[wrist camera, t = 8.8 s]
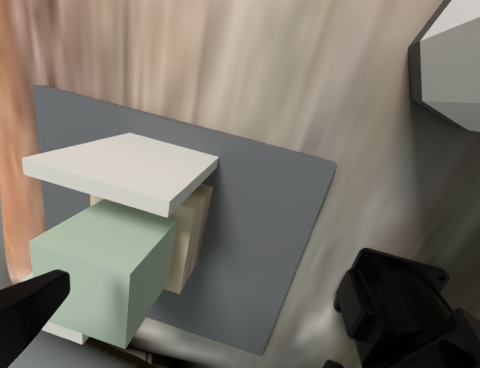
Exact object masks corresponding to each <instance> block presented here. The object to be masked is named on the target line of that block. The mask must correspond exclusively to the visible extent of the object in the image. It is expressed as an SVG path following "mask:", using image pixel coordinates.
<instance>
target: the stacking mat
mask: <svg viewBox="0 0 480 368" xmlns="http://www.w3.org/2000/svg"><path fill="white" fill-rule="evenodd" d="M33 88H34V99H35V110H36V121H37V132H38V144H39V154H37V155H32V156H28V157H24V158H22V162H23V170H24V175H27V176H31V177H34V178H37V179H41V180H42V188H43V199H44V210H45V221H46V231H48V230H50V229H51V228H53V227H55V226H57V225H59V224H60V223H62V222H64V221H66V220H67V219H69V218H71V217H73V216H74V215H76V214H78V213H80V212H82V211H83V210H85V209H87V208H89V207H90V195H94V196H97V197H100V198H104V199H107V200H110V201H114V202H117V203H120V204H124V205H127V206H130V207H134V208H137V209H140V210H144V211H147V212H150V213H153V214H157V215H160V216H163V217H167V218H168V217H169V216H170V215H171V214H172V213H173V212H174V211H175V210H176V209H177V208H178V207H179V206H180V205H181V204H182V203H183V202H184V201H185V199H186V198H187V197H188V196H189V195H190V194H191V193H192V192H193V191H194V190H195V189H196V188H197V187H198V186H199V185H200V184H201V183H202V184H205V185H209V186H212V187H213V190H212V195H211V200H210V205H209V210H208V215H207V220H206V225H205V230H204V235H203V240H202V245H201V250H200V255H199V259H198V261H197V263H196V265H195V267H194V269H193V271H192V272H191V274H190V276H189V278H188V280H187V282H186V284H185V286H184V287H183V289H182V291H181V293H180V294H178V293H175V292H172V291H169V290H166V289H163V290H162V292H161V294H160V295H159V297H158V298H157V300H156V301H155V303H154V305H153V306H152V308H151V309H150V311H149V312H148V314H147V316H146V317H148V318H151V319H154V320H157V321H160V322H163V323H166V324H169V325H172V326H175V327H178V328H181V329H183V330H186V331H189V332H192V333H195V334H198V335H201V336H204V337H207V338H210V339H213V340H216V341H219V342H221V343H224V344H227V345H230V346H233V347H236V348H239V349H242V350H245V351H248V352H251V353H254V354H257V355H259V356H262V354H263V351H264V349H265V346H266V344H267V341H268V339H269V336H270V334H271V331H272V329H273V326H274V323H275V321H276V318H277V316H278V313H279V311H280V308H281V306H282V303H283V301H284V298H285V296H286V293H287V291H288V288H289V286H290V283H291V281H292V278H293V275H294V273H295V270H296V268H297V265H298V263H299V260H300V258H301V255H302V253H303V250H304V248H305V245H306V243H307V240H308V238H309V235H310V233H311V230H312V228H313V225H314V222H315V220H316V217H317V215H318V212H319V210H320V207H321V205H322V202H323V200H324V197H325V195H326V192H327V190H328V187H329V185H330V182H331V180H332V177H333V174H334V172H335V169H336V167H337V165H336V163H335V162H334V161H330V160H326V159H322V158H318V157H315V156H311V155H307V154H303V153H299V152H296V151H292V150H288V149H284V148H281V147H277V146H273V145H269V144H265V143H262V142H258V141H254V140H250V139H246V138H243V137H239V136H235V135H231V134H227V133H224V132H220V131H216V130H212V129H208V128H205V127H201V126H197V125H193V124H189V123H186V122H182V121H178V120H174V119H170V118H167V117H163V116H159V115H155V114H151V113H148V112H144V111H140V110H136V109H133V108H129V107H125V106H121V105H117V104H114V103H110V102H106V101H102V100H98V99H95V98H91V97H87V96H83V95H79V94H76V93H72V92H68V91H64V90H60V89H57V88H53V87H49V86H44V85H33Z"/></svg>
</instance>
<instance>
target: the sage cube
mask: <svg viewBox="0 0 480 368" xmlns="http://www.w3.org/2000/svg"><path fill="white" fill-rule="evenodd" d="M177 221H178V220H176V219H173V218H169V217H168V218H167V217H163V216H160V215H157V214H153V213H150V212H147V211H144V210H140V209H137V208H134V207H130V206H127V205H124V204H120V203H117V202H114V201H110V200H107V199H103V200H101V201H99V202H98V203H96V204H94V205H92V206H90V207H89V208H87V209H85V210H83V211H82V212H80V213H78V214H76V215H74V216H73V217H71V218H69V219H67V220H66V221H64V222H62V223H60V224H59V225H57V226H55V227H53V228H51V229H50V230H48V231H46V232H44V233H43V234H41V235H39V236H37V237H35V238H34V239H32V240H30V241H29V247H30V255H31V263H32V271H33V278H34V277H36V276H39V275H42V274H44V273H47V272H50V271H52V270H56V269H60V270H63V271H66V272H68V273H69V274H70V287H71V290H70V293H69V295H68V297H67V298H66V299H65V301H64V302H63V303H62V304H61V306H60V307H59V308H58V309H57V311H56V312H55V313H54V314H53V316H52V317H51V318H50V319H49V321H48V322H51V323H53V324H56V325H59V326H62V327H65V328H68V329H70V330H73V331H76V332H79V333H82V334H84V335H87V336H90V337H93V338H96V339H98V340H101V341H104V342H107V343H110V344H113V345H115V346H118V347H121V348H124V349H125V348H126V347H127V345H128V344H129V342H130V341H131V339H132V337H133V336H134V334H135V333H136V331H137V330H138V328H139V327H140V325H141V323H142V322H143V320H144V319H145V317H146V316H147V314H148V312H149V311H150V309H151V308H152V306H153V305H154V303H155V301H156V300H157V298H158V297H159V295H160V294H161V292H162V290H163V289H164V287H165V286H166V284H167V283H168V281H169V276H170V270H171V263H172V256H173V249H174V242H175V235H176V228H177Z"/></svg>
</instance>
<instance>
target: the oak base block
mask: <svg viewBox="0 0 480 368" xmlns="http://www.w3.org/2000/svg"><path fill="white" fill-rule="evenodd" d="M212 190H213V187H212V186H209V185H205V184H202V183H201V184H200V185H199V186H198V187H197V188H196V189H195V190H194V191H193V192H192V193H191V194H190V195H189V196H188V197H187V198H186V199H185V201H184V202H183V203H182V204H181V205H180V206H179V207H178V208H177V209H176V210H175V211H174V212H173V213H172V214H171V215H170V216H169V218H173V219H176V220H178V221H177V228H176V235H175V242H174V249H173V256H172V263H171V270H170V276H169V281H168V283H167V284H166V286H165V287H164V289H166V290H169V291H172V292H175V293H178V294H180V293H181V291H182V289H183V287H184V286H185V284H186V282H187V280H188V278H189V276H190V274H191V272H192V271H193V269H194V267H195V265H196V263H197V261H198V259H199V255H200V250H201V245H202V240H203V235H204V230H205V225H206V220H207V215H208V210H209V205H210V200H211V195H212ZM103 199H104V198H100V197H97V196H94V195H90V206H92V205H94V204H96V203H98V202H99V201H101V200H103Z"/></svg>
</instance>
